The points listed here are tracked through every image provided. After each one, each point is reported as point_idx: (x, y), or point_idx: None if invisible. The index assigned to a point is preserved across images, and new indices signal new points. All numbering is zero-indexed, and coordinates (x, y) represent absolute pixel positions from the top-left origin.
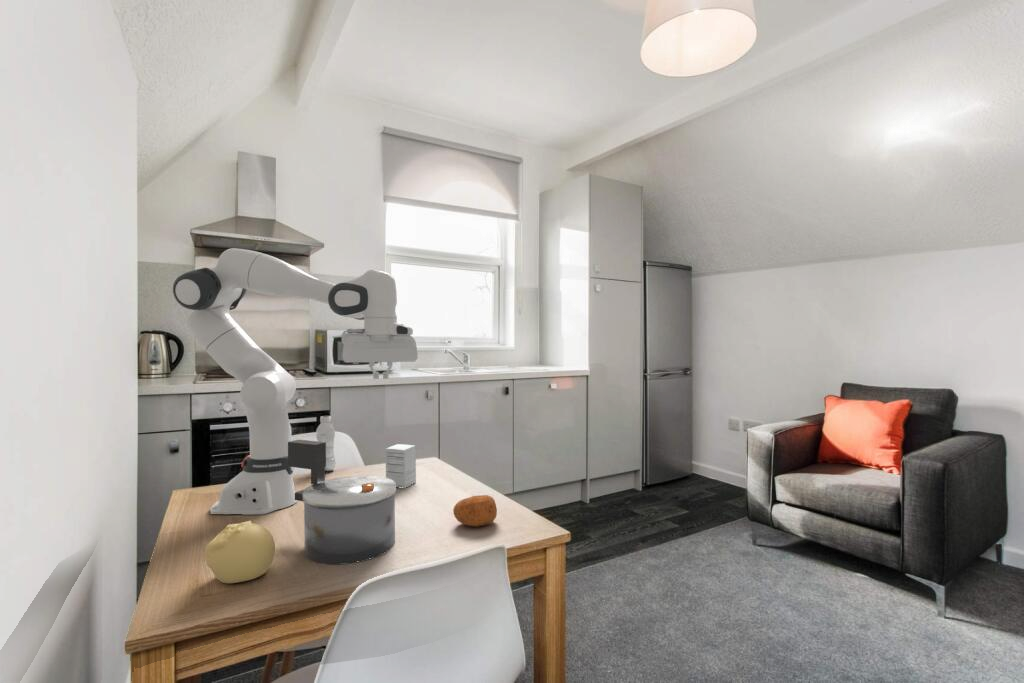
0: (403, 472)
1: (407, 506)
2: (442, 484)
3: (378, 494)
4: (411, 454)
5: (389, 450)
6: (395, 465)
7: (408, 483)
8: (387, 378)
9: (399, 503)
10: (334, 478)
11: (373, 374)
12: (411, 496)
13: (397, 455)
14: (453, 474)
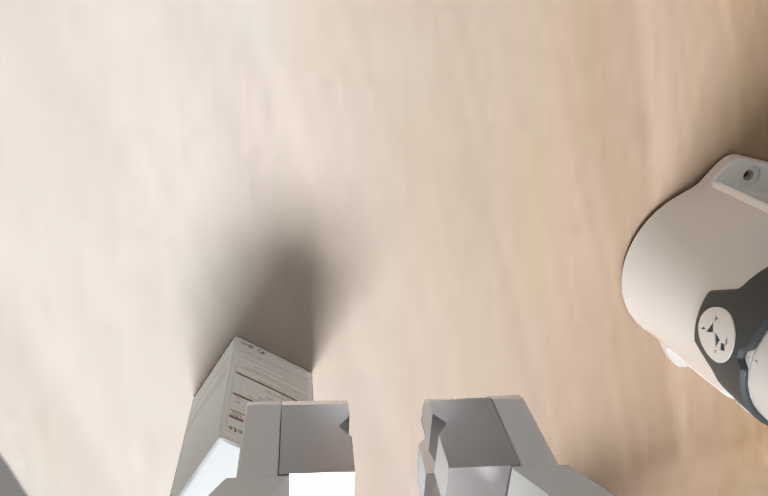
0: (235, 373)
1: (216, 112)
2: (78, 358)
3: None
4: (190, 459)
5: None
6: None
7: (220, 360)
8: (264, 409)
9: (251, 158)
10: None
11: (536, 437)
12: (204, 234)
13: None
14: (36, 475)
